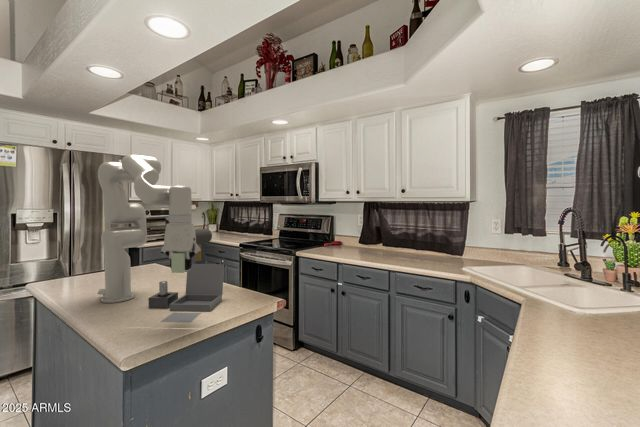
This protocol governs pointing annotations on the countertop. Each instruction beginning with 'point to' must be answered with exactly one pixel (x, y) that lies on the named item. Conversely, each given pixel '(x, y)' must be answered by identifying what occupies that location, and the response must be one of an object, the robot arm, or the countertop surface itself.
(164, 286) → the rod
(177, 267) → the block
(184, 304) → the case
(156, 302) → the square socket block
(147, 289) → the countertop surface
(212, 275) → the lid
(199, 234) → the rubber mallet
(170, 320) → the mat
